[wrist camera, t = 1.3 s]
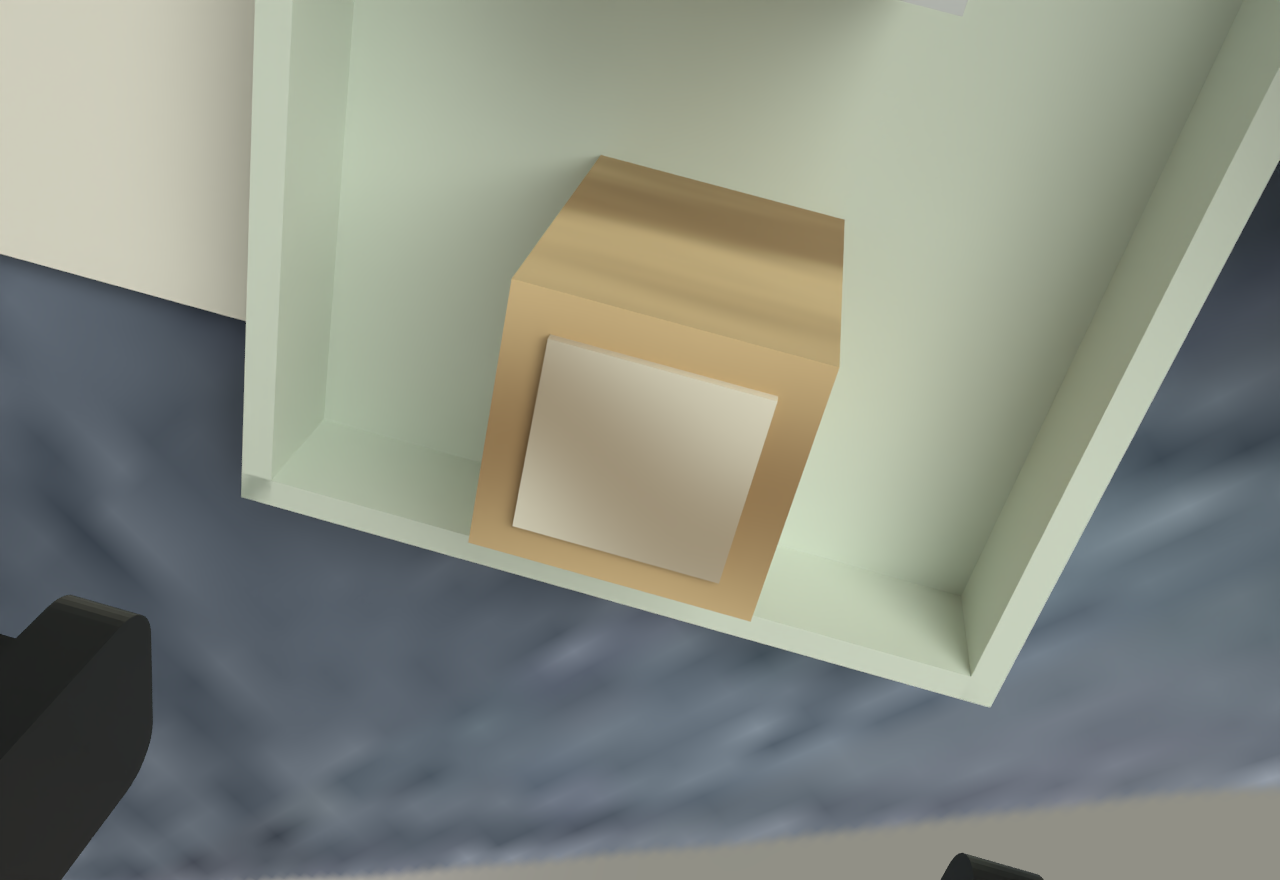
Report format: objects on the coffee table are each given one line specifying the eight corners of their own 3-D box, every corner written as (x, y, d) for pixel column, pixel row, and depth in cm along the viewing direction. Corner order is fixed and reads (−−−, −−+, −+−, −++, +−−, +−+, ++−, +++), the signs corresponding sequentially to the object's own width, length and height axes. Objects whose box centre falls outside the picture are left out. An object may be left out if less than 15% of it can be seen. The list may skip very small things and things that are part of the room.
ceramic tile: (-281, -379, 18) (-313, -384, 18) (293, -233, 18) (276, -234, 18) (-177, 189, 24) (-200, 198, 23) (270, 312, 23) (257, 324, 23)
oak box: (600, 155, 20) (508, 282, 15) (844, 219, 20) (839, 371, 15) (558, 371, 22) (465, 547, 17) (775, 430, 22) (749, 628, 17)
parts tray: (388, -887, 14) (284, -1037, 12) (1573, -613, 14) (1737, -707, 11) (305, 424, 25) (241, 497, 22) (976, 610, 24) (990, 707, 21)
